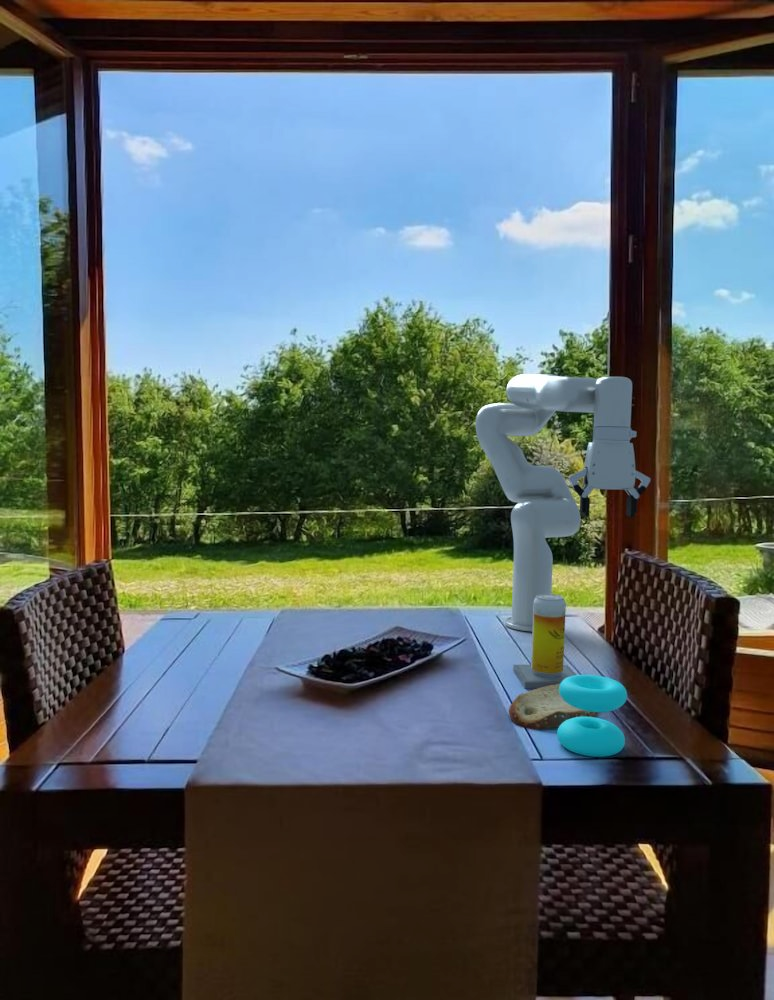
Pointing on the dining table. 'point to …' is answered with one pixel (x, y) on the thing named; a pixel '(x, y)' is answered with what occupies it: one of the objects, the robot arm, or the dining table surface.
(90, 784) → the dining table surface
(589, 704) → the donuts
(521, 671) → the slate coaster
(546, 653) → the beer can
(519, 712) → the bread slice
